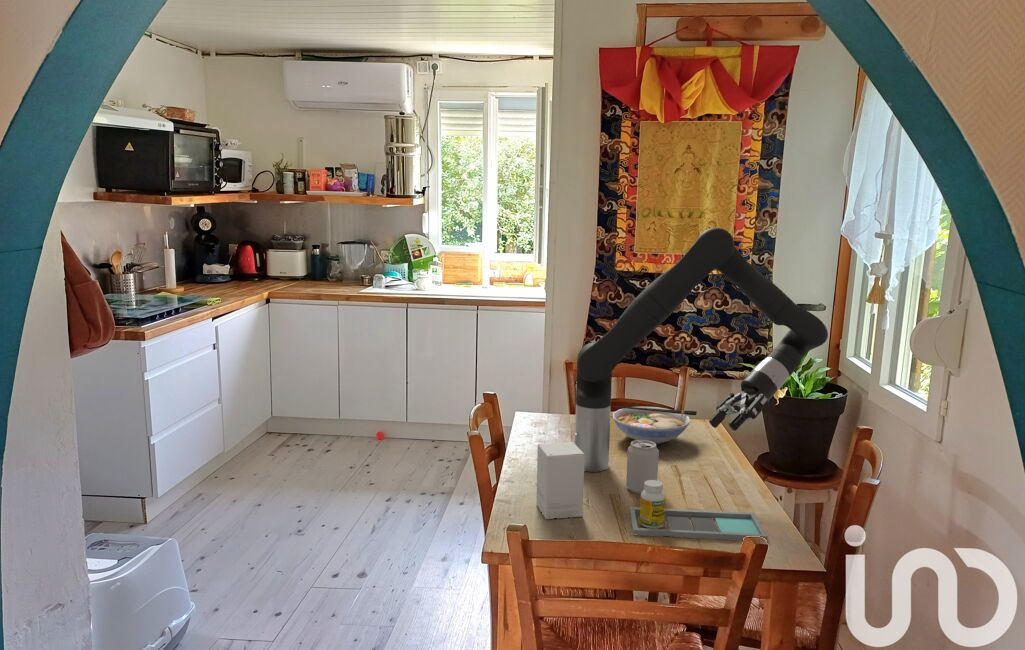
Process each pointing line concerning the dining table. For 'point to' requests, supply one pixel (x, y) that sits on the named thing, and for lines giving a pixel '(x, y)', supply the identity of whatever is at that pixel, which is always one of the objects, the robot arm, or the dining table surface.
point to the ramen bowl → (652, 423)
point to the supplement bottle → (652, 505)
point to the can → (641, 464)
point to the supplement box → (560, 480)
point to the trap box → (704, 524)
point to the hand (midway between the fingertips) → (721, 426)
